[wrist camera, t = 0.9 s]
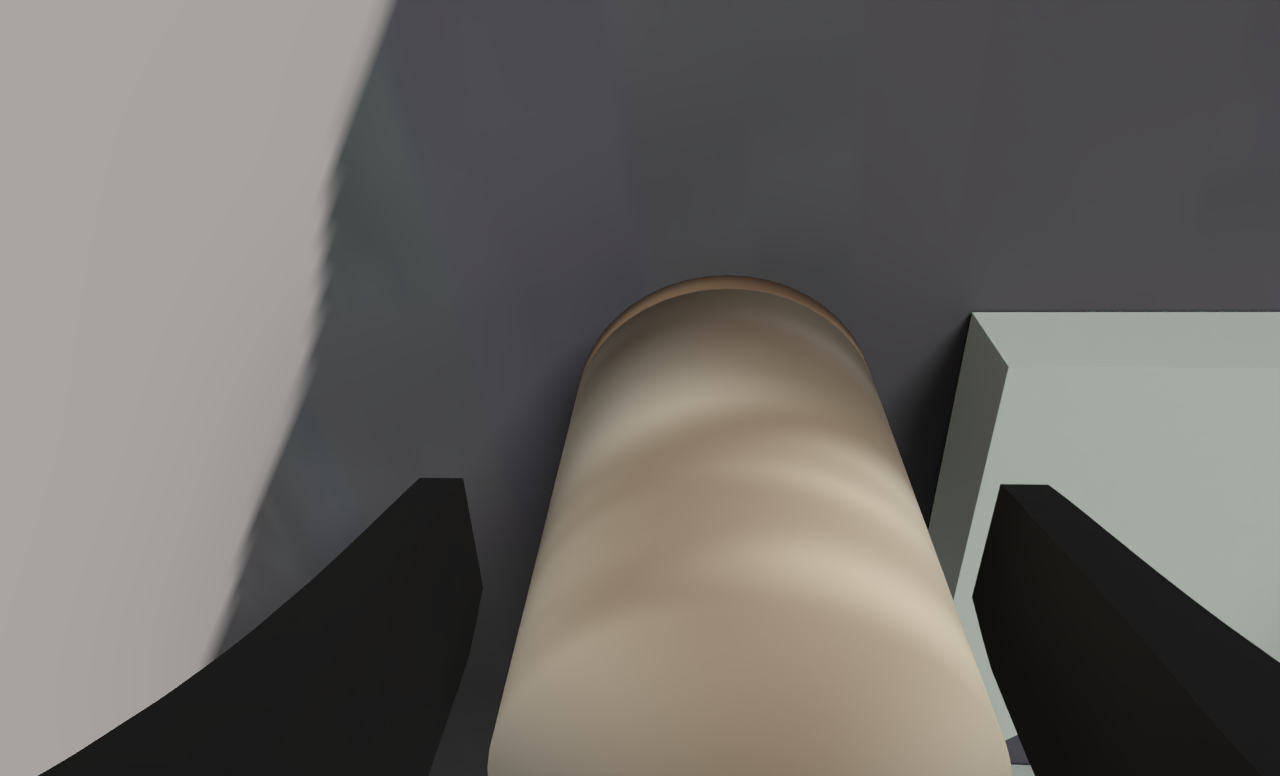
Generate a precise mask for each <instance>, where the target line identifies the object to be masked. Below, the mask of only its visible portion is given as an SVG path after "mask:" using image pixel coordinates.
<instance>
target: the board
mask: <svg viewBox="0 0 1280 776" xmlns="http://www.w3.org/2000/svg"><path fill="white" fill-rule="evenodd" d="M1000 484H1035V485H1049V486H1051V487H1052V488H1054V489H1055V490H1056V491H1058V492H1059V493H1060V494H1062V495H1063V496H1064V497H1065V498H1067V499H1068V500H1069V501H1071V502H1072V503H1073V504H1074V505H1076V506H1077V507H1078V508H1079V509H1081V510H1082V511H1083V512H1084V513H1086V514H1087V515H1088V516H1089V517H1090V518H1092V519H1093V520H1094V521H1095V522H1097V523H1098V524H1099V525H1100V526H1102V527H1103V528H1104V529H1105V530H1106V531H1108V532H1109V533H1110V534H1111V535H1113V536H1114V537H1115V538H1116V539H1118V540H1119V541H1120V542H1121V543H1122V544H1124V545H1125V546H1126V547H1127V548H1129V549H1130V550H1131V551H1132V552H1134V553H1135V554H1136V555H1137V556H1139V557H1140V558H1141V559H1142V560H1144V561H1145V562H1146V563H1147V564H1149V565H1150V566H1151V567H1152V568H1154V569H1155V570H1156V571H1157V572H1159V573H1160V574H1161V575H1162V576H1164V577H1165V578H1166V579H1167V580H1169V581H1170V582H1171V583H1173V584H1174V585H1175V586H1176V587H1178V588H1179V589H1180V590H1182V591H1183V592H1184V593H1185V594H1187V595H1188V596H1189V597H1191V598H1192V599H1193V600H1195V601H1196V602H1197V603H1198V604H1200V605H1201V606H1202V607H1204V608H1205V609H1206V610H1208V611H1209V612H1210V613H1212V614H1213V615H1214V616H1216V617H1217V618H1218V619H1220V620H1221V621H1222V622H1224V623H1225V624H1226V625H1228V626H1229V627H1231V628H1232V629H1233V630H1235V631H1236V632H1238V633H1239V634H1240V635H1242V636H1243V637H1245V638H1246V639H1247V640H1249V641H1250V642H1252V643H1253V644H1254V645H1256V646H1257V647H1259V648H1260V649H1261V650H1263V651H1264V652H1266V653H1267V654H1268V655H1270V656H1271V657H1273V658H1274V659H1276V660H1277V661H1278V662H1280V312H972V315H971V320H970V325H969V330H968V335H967V340H966V345H965V350H964V355H963V360H962V365H961V370H960V375H959V380H958V385H957V390H956V395H955V400H954V404H953V409H952V414H951V419H950V424H949V429H948V434H947V439H946V444H945V449H944V454H943V459H942V464H941V469H940V474H939V479H938V484H937V489H936V494H935V499H934V504H933V509H932V514H931V518H930V523H929V528H928V532H929V535H930V538H931V541H932V543H933V546H934V549H935V552H936V554H937V557H938V560H939V562H940V565H941V568H942V571H943V573H944V576H945V579H946V582H947V584H948V587H949V590H950V592H951V595H952V598H953V601H954V603H955V606H956V609H957V612H958V614H959V617H960V620H961V622H962V625H963V628H964V631H965V633H966V636H967V639H968V642H969V644H970V647H971V650H972V653H973V655H974V658H975V661H976V663H977V666H978V669H979V672H980V674H981V677H982V680H983V683H984V685H985V688H986V691H987V693H988V696H989V699H990V702H991V704H992V707H993V710H994V713H995V715H996V718H997V721H998V723H999V726H1000V729H1001V732H1002V734H1003V737H1004V740H1007V739H1009V738H1011V737H1014V736H1016V735H1018V734H1017V732H1016V729H1015V727H1014V725H1013V722H1012V720H1011V717H1010V715H1009V712H1008V710H1007V707H1006V705H1005V702H1004V700H1003V697H1002V695H1001V693H1000V690H999V688H998V685H997V683H996V680H995V677H994V675H993V672H992V670H991V667H990V663H989V660H988V656H987V653H986V649H985V646H984V642H983V639H982V635H981V631H980V627H979V623H978V619H977V615H976V611H975V607H974V603H973V599H972V595H973V591H974V587H975V583H976V579H977V575H978V571H979V567H980V563H981V559H982V555H983V551H984V547H985V543H986V539H987V535H988V531H989V527H990V523H991V519H992V515H993V512H994V508H995V504H996V500H997V496H998V492H999V488H1000ZM1011 767H1012V776H1035V775H1034V773H1033V770H1032V768H1031V765H1011Z"/></svg>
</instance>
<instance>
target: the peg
mask: <svg viewBox="0 0 1280 776" xmlns="http://www.w3.org/2000/svg"><path fill="white" fill-rule="evenodd" d="M487 771H488V776H1012V767H1011V762H1010V758H1009V754H1008V749H1007V745H1006V743H1005V740H1004V737H1003V734H1002V732H1001V729H1000V726H999V723H998V721H997V718H996V715H995V713H994V710H993V707H992V704H991V702H990V699H989V696H988V693H987V691H986V688H985V685H984V683H983V680H982V677H981V674H980V672H979V669H978V666H977V663H976V661H975V658H974V655H973V653H972V650H971V647H970V644H969V642H968V639H967V636H966V633H965V631H964V628H963V625H962V622H961V620H960V617H959V614H958V612H957V609H956V606H955V603H954V601H953V598H952V595H951V592H950V590H949V587H948V584H947V582H946V579H945V576H944V573H943V571H942V568H941V565H940V562H939V560H938V557H937V554H936V552H935V549H934V546H933V543H932V541H931V538H930V535H929V532H928V530H927V527H926V524H925V521H924V519H923V516H922V513H921V511H920V508H919V505H918V502H917V500H916V497H915V494H914V491H913V489H912V486H911V483H910V481H909V478H908V475H907V472H906V470H905V467H904V464H903V461H902V459H901V456H900V453H899V451H898V448H897V445H896V442H895V440H894V437H893V434H892V431H891V429H890V426H889V423H888V420H887V418H886V415H885V412H884V410H883V407H882V404H881V401H880V399H879V396H878V393H877V390H876V388H875V385H874V382H873V380H872V377H871V374H870V371H869V369H868V366H867V363H866V361H865V358H864V356H863V354H862V352H861V349H860V347H859V345H858V344H857V342H856V341H855V339H854V338H853V336H852V335H851V333H850V331H849V330H848V329H847V328H846V327H845V326H844V325H843V324H842V322H841V321H840V320H839V319H838V318H837V317H836V316H835V315H834V314H832V313H831V312H830V311H829V310H828V309H827V308H825V307H824V306H823V305H822V304H820V303H818V302H817V301H815V300H814V299H812V298H810V297H809V296H807V295H806V294H803V293H801V292H799V291H797V290H795V289H793V288H790V287H788V286H785V285H782V284H779V283H775V282H772V281H769V280H764V279H759V278H753V277H747V276H729V275H725V276H710V277H702V278H696V279H691V280H686V281H682V282H679V283H676V284H673V285H670V286H667V287H664V288H662V289H660V290H658V291H655V292H653V293H651V294H649V295H647V296H645V297H644V298H642V299H641V300H639V301H637V302H636V303H634V304H633V305H631V306H630V307H628V308H627V309H626V310H625V311H624V312H622V313H621V314H620V315H619V316H618V317H616V318H615V320H614V321H613V322H612V323H611V324H610V325H609V326H608V327H607V328H606V329H605V330H604V332H603V333H602V334H601V336H600V337H599V339H598V340H597V342H596V343H595V345H594V346H593V348H592V350H591V352H590V355H589V357H588V359H587V361H586V363H585V367H584V370H583V373H582V376H581V380H580V384H579V388H578V392H577V396H576V400H575V404H574V408H573V413H572V417H571V421H570V425H569V429H568V433H567V437H566V441H565V445H564V449H563V453H562V457H561V461H560V465H559V469H558V473H557V477H556V481H555V485H554V489H553V494H552V498H551V502H550V506H549V510H548V514H547V518H546V522H545V526H544V530H543V534H542V538H541V542H540V546H539V550H538V554H537V558H536V562H535V566H534V570H533V575H532V579H531V583H530V587H529V591H528V595H527V599H526V603H525V607H524V611H523V615H522V619H521V623H520V627H519V631H518V635H517V639H516V643H515V647H514V651H513V655H512V660H511V664H510V668H509V672H508V676H507V680H506V684H505V688H504V692H503V696H502V700H501V704H500V708H499V712H498V716H497V720H496V724H495V728H494V732H493V736H492V741H491V745H490V749H489V758H488V767H487Z"/></svg>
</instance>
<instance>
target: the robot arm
mask: <svg viewBox="0 0 1280 776" xmlns="http://www.w3.org/2000/svg"><path fill="white" fill-rule="evenodd" d="M482 589H483V586H482V580H481V575H480V569H479V564H478V558H477V553H476V547H475V542H474V536H473V531H472V525H471V520H470V514H469V509H468V503H467V498H466V492H465V487H464V481H463V478H419V479H418V480H417V481H416V482H415V483H414V484H413V485H412V486H411V487H410V488H409V489H408V490H406V491H405V492H404V493H403V494H402V495H401V496H400V497H399V498H398V499H397V500H396V501H395V502H394V503H393V504H392V505H391V506H390V507H389V508H388V509H387V510H386V511H385V512H383V513H382V514H381V515H380V516H379V517H378V518H377V519H376V520H375V521H374V522H373V523H372V524H371V525H370V526H369V527H368V528H367V529H366V530H365V531H364V532H363V533H362V534H361V535H360V536H359V537H358V538H357V539H355V540H354V541H353V542H352V543H351V544H350V545H349V546H348V547H347V548H346V549H345V550H344V551H343V552H342V553H341V554H340V555H338V556H337V557H336V558H335V559H334V560H333V561H332V562H331V563H330V564H329V565H328V566H327V567H326V568H324V569H323V570H322V571H321V572H320V573H319V574H318V575H317V576H316V577H315V578H314V579H313V580H311V581H310V582H309V583H308V584H307V585H306V586H304V587H303V588H302V589H301V590H300V591H299V592H297V593H296V594H295V595H294V596H293V597H292V598H290V599H289V600H288V601H287V602H286V603H284V604H283V605H282V606H281V607H280V608H279V609H277V610H276V611H275V612H274V613H273V614H272V615H270V616H269V617H268V618H267V619H266V620H265V621H263V622H262V623H261V624H260V625H259V626H257V627H256V628H255V629H254V630H253V631H251V632H250V633H249V634H248V635H246V636H245V637H244V638H243V639H241V640H240V641H239V642H238V643H236V644H235V645H234V646H232V647H231V648H230V649H229V650H227V651H226V652H225V653H223V654H222V655H221V656H219V657H218V658H217V659H215V660H214V661H213V662H211V663H210V664H209V665H207V666H206V667H204V668H203V669H202V670H200V671H199V672H198V673H196V674H195V675H193V676H192V677H191V678H189V679H188V680H187V681H185V682H184V683H182V684H181V685H180V686H178V687H177V688H175V689H174V690H173V691H171V692H170V693H168V694H167V695H165V696H164V697H162V698H161V699H160V700H158V701H157V702H155V703H153V704H152V705H150V706H149V707H147V708H146V709H144V710H143V711H141V712H139V713H138V714H136V715H135V716H133V717H132V718H130V719H129V720H127V721H126V722H124V723H122V724H121V725H119V726H118V727H116V728H115V729H113V730H112V731H110V732H109V733H107V734H106V735H104V736H102V737H101V738H99V739H98V740H96V741H94V742H93V743H91V744H90V745H88V746H87V747H85V748H84V749H82V750H80V751H79V752H77V753H76V754H74V755H72V756H71V757H69V758H68V759H66V760H65V761H63V762H61V763H59V764H57V765H56V766H54V767H52V768H51V769H49V770H47V771H46V772H44V773H42V774H40V775H39V776H428V775H429V772H430V769H431V766H432V763H433V760H434V757H435V754H436V751H437V748H438V745H439V742H440V740H441V737H442V734H443V731H444V728H445V725H446V722H447V719H448V716H449V713H450V710H451V707H452V704H453V701H454V698H455V695H456V693H457V690H458V687H459V684H460V681H461V678H462V675H463V672H464V669H465V665H466V662H467V659H468V656H469V652H470V648H471V643H472V639H473V634H474V629H475V625H476V620H477V614H478V609H479V604H480V599H481V594H482ZM972 599H973V603H974V607H975V611H976V615H977V619H978V623H979V627H980V631H981V635H982V639H983V642H984V646H985V649H986V653H987V656H988V660H989V663H990V667H991V670H992V672H993V675H994V677H995V680H996V683H997V685H998V688H999V690H1000V693H1001V695H1002V697H1003V700H1004V702H1005V705H1006V707H1007V710H1008V712H1009V715H1010V717H1011V720H1012V722H1013V725H1014V727H1015V729H1016V732H1017V734H1018V737H1019V739H1020V741H1021V744H1022V746H1023V749H1024V751H1025V753H1026V756H1027V758H1028V761H1029V763H1030V765H1031V768H1032V770H1033V773H1034V775H1035V776H1280V662H1278V661H1277V660H1276V659H1274V658H1273V657H1271V656H1270V655H1268V654H1267V653H1266V652H1264V651H1263V650H1261V649H1260V648H1259V647H1257V646H1256V645H1254V644H1253V643H1252V642H1250V641H1249V640H1247V639H1246V638H1245V637H1243V636H1242V635H1240V634H1239V633H1238V632H1236V631H1235V630H1233V629H1232V628H1231V627H1229V626H1228V625H1226V624H1225V623H1224V622H1222V621H1221V620H1220V619H1218V618H1217V617H1216V616H1214V615H1213V614H1212V613H1210V612H1209V611H1208V610H1206V609H1205V608H1204V607H1202V606H1201V605H1200V604H1198V603H1197V602H1196V601H1195V600H1193V599H1192V598H1191V597H1189V596H1188V595H1187V594H1185V593H1184V592H1183V591H1182V590H1180V589H1179V588H1178V587H1176V586H1175V585H1174V584H1173V583H1171V582H1170V581H1169V580H1167V579H1166V578H1165V577H1164V576H1162V575H1161V574H1160V573H1159V572H1157V571H1156V570H1155V569H1154V568H1152V567H1151V566H1150V565H1149V564H1147V563H1146V562H1145V561H1144V560H1142V559H1141V558H1140V557H1139V556H1137V555H1136V554H1135V553H1134V552H1132V551H1131V550H1130V549H1129V548H1127V547H1126V546H1125V545H1124V544H1122V543H1121V542H1120V541H1119V540H1118V539H1116V538H1115V537H1114V536H1113V535H1111V534H1110V533H1109V532H1108V531H1106V530H1105V529H1104V528H1103V527H1102V526H1100V525H1099V524H1098V523H1097V522H1095V521H1094V520H1093V519H1092V518H1090V517H1089V516H1088V515H1087V514H1086V513H1084V512H1083V511H1082V510H1081V509H1079V508H1078V507H1077V506H1076V505H1074V504H1073V503H1072V502H1071V501H1069V500H1068V499H1067V498H1065V497H1064V496H1063V495H1062V494H1060V493H1059V492H1058V491H1056V490H1055V489H1054V488H1052V487H1051V486H1049V485H1035V484H1000V488H999V492H998V496H997V500H996V504H995V508H994V512H993V515H992V519H991V523H990V527H989V531H988V535H987V539H986V543H985V547H984V551H983V555H982V559H981V563H980V567H979V571H978V575H977V579H976V583H975V587H974V591H973V595H972Z"/></svg>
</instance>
